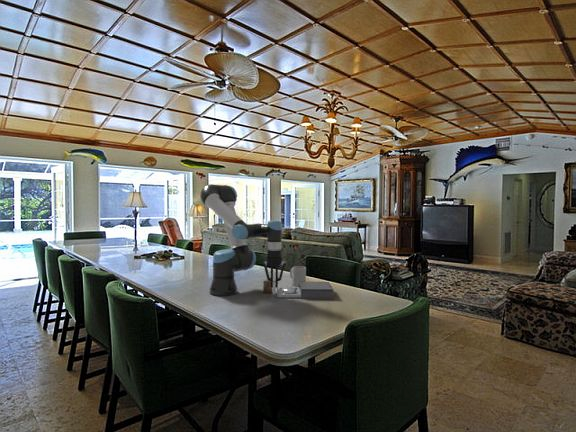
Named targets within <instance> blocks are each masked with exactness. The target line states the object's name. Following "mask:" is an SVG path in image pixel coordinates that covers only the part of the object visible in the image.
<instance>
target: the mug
mask: <svg viewBox="0 0 576 432" xmlns="http://www.w3.org/2000/svg"><path fill="white" fill-rule="evenodd" d="M289 277H290V279H291V285H292V287H299V282H307V281H306V280H307V267H306V266H302V265H296V266H294V265H293V266H292V268H290V271H289Z"/></svg>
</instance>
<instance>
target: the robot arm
mask: <svg viewBox="0 0 576 432" xmlns="http://www.w3.org/2000/svg"><path fill="white" fill-rule="evenodd" d="M200 200H201V202H202V203H203V205H204V206H205V207H207V208H208V209H211V210H212V211H213V212H214V213H215V214H216V215H217V216H218V217H219V219H221V220H222V222H223V224H224V228H225V232H226V236H227V238H228V242H229V245H230V249H229V248H226V249H220V250H216V251H215V252H214V253H213V258H212V262H213V263H212V281H211V284H210V287H209V294H210V295H212V296H217V297H220V296H221V297H225V296H226V297H227V296H233V295H236V294H237V293H238V286H237V283H236V280H235V272H242V271H248V270H250V269H252V268H253V267H254V266H255V264H256V262H257V256H256V253H255V251H254V250H253V249H250V247H249V244H247V243H246V242H245V240H247V239H258V238H265V239H267V253H266V254H267V255H266V256H267V257H266V260H265V261H263V262H262V266H263V267H264V273H265V275H266V280H269V281H270V282H271V288H272V295H277V287H278V283H279V281H282V277H283V273H284V269H285V267H286V266H287V262H285V261H284V260H283V258H282V236H283V235H282V233H283V232H282V230H283V227H282V221H280V220H268V221H267V223H250V224H249V223H248V224H247V223H246V222H245V221H244V220H243V219H242V218H241V217H239V215H238V214H237V212H236V208H235V206H236V202H237V200H238V193H237V190H236V189H235V188H234V187H233V186H231V185H226V184H223V185H222V184H212V183H211V184H207V185H205V186H204V187H203V188H202V189H201V191H200ZM267 265H269V267H270V272H269V270H268V266H267ZM280 265H281V269H280V273H279V267H280ZM274 268H275V280H274ZM269 273H270V274H269Z"/></svg>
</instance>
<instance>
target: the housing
mask: <svg viewBox="0 0 576 432" xmlns="http://www.w3.org/2000/svg"><path fill="white" fill-rule="evenodd" d="M299 288H300V289H301V298H300V299H303V300H305V299H306V300H307V299H308V300H309V299H310V300H311V299H312V300H316V299H317V300H323V299H324V300H334V288H333V286H332V285H331V284H330V282H329V281H306V282H299Z"/></svg>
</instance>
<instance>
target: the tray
mask: <svg viewBox="0 0 576 432" xmlns="http://www.w3.org/2000/svg"><path fill="white" fill-rule="evenodd" d="M279 285H280V284H279V282H278V287H277V288H276V298H300V299H301V289H300V288H299V287H297V286H292V287H293V288H296V289H297V292H296V293H294V294H285V293H282V288H285V287H286V286H285V287H284V286H283V287H282V286H281V287H280V286H279Z"/></svg>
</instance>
